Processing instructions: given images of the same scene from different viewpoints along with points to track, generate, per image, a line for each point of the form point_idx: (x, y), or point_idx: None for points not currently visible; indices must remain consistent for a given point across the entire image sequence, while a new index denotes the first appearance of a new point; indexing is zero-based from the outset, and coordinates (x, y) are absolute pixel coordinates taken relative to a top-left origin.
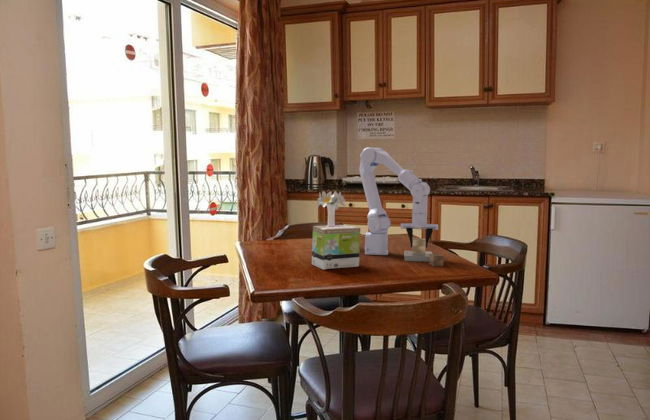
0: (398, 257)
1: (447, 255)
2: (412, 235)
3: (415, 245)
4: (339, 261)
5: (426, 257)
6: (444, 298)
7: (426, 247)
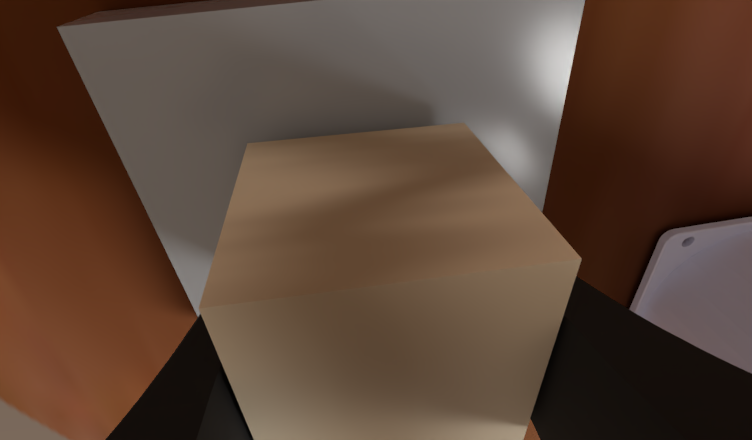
0: (575, 177)
1: (93, 402)
2: (665, 418)
3: (455, 193)
4: None
5: (203, 7)
6: None
7: None
